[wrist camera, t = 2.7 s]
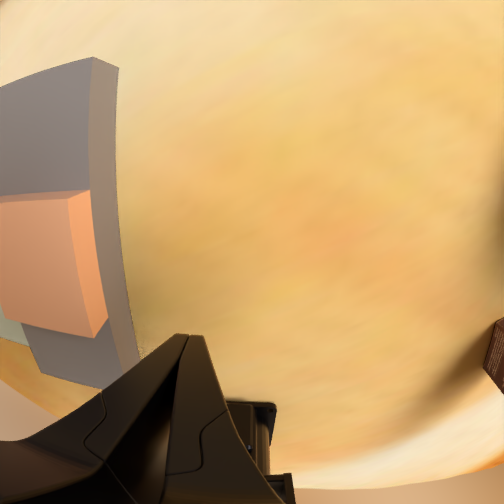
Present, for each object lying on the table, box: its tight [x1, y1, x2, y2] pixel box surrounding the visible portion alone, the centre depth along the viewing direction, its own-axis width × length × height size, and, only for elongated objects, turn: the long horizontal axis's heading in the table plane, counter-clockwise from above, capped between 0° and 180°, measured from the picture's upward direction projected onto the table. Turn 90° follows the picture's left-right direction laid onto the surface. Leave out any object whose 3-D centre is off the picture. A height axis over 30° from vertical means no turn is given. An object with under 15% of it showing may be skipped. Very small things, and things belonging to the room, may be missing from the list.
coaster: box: [0, 190, 108, 338], centre depth 13 cm, size 7×7×2 cm
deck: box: [0, 57, 140, 390], centre depth 15 cm, size 20×8×3 cm, turn 177°
